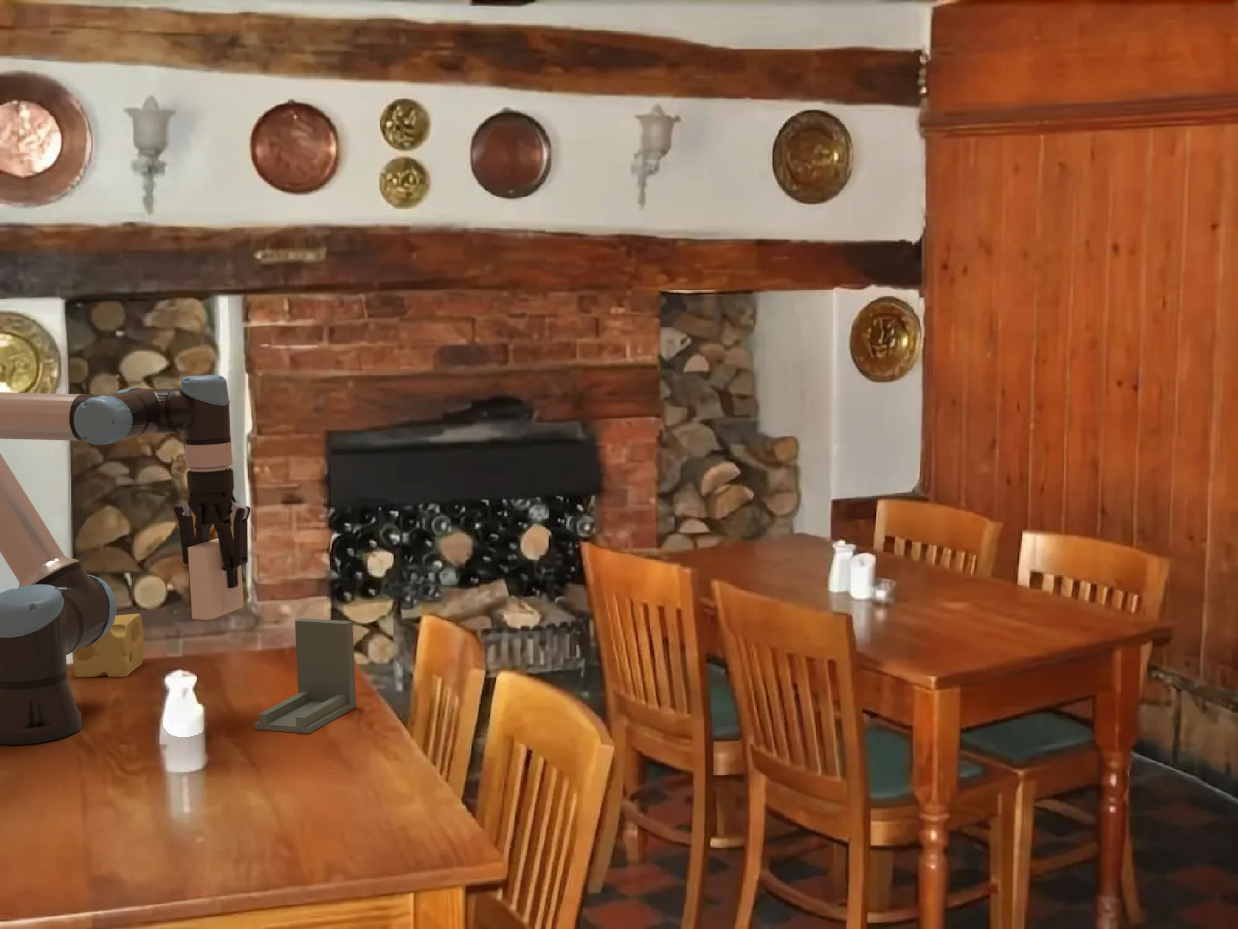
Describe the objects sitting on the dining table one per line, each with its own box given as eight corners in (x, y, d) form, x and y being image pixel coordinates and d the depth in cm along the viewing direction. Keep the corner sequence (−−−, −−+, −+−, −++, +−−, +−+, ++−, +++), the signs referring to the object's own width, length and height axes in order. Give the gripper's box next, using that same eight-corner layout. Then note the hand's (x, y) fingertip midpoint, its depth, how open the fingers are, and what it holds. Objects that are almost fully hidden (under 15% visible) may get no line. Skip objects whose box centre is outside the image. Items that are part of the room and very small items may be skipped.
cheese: (127, 677, 288) (124, 625, 287) (70, 678, 288) (67, 626, 287) (145, 663, 298) (142, 612, 297) (90, 664, 298) (87, 613, 297)
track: (308, 733, 250) (304, 643, 248) (254, 729, 253) (250, 639, 251) (356, 707, 265) (352, 621, 263) (304, 702, 268) (300, 618, 266)
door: (210, 619, 255) (206, 548, 253) (192, 618, 256) (187, 547, 254) (244, 607, 264) (239, 537, 263) (225, 606, 265) (221, 537, 264)
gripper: (265, 466, 258) (273, 603, 261) (179, 464, 263) (188, 599, 266) (240, 471, 251) (249, 613, 254) (153, 470, 256) (162, 609, 259)
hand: (218, 606), depth 260 cm, fingers closed on door, 4 cm apart
